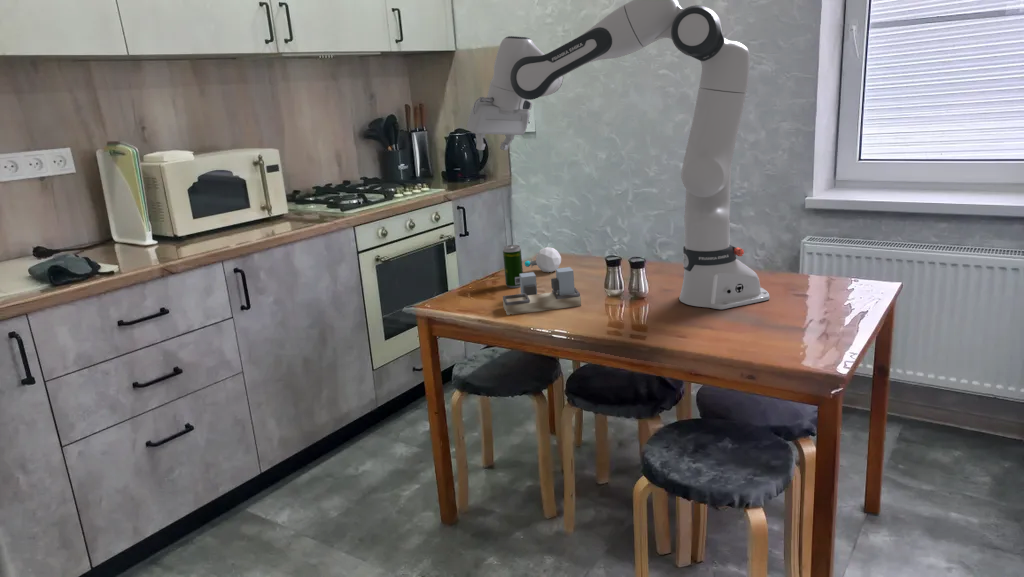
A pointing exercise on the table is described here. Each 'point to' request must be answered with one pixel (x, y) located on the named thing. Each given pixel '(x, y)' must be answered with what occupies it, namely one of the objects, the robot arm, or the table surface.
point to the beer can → (512, 265)
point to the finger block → (528, 283)
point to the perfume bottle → (546, 260)
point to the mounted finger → (563, 281)
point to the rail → (539, 302)
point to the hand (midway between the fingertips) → (492, 149)
